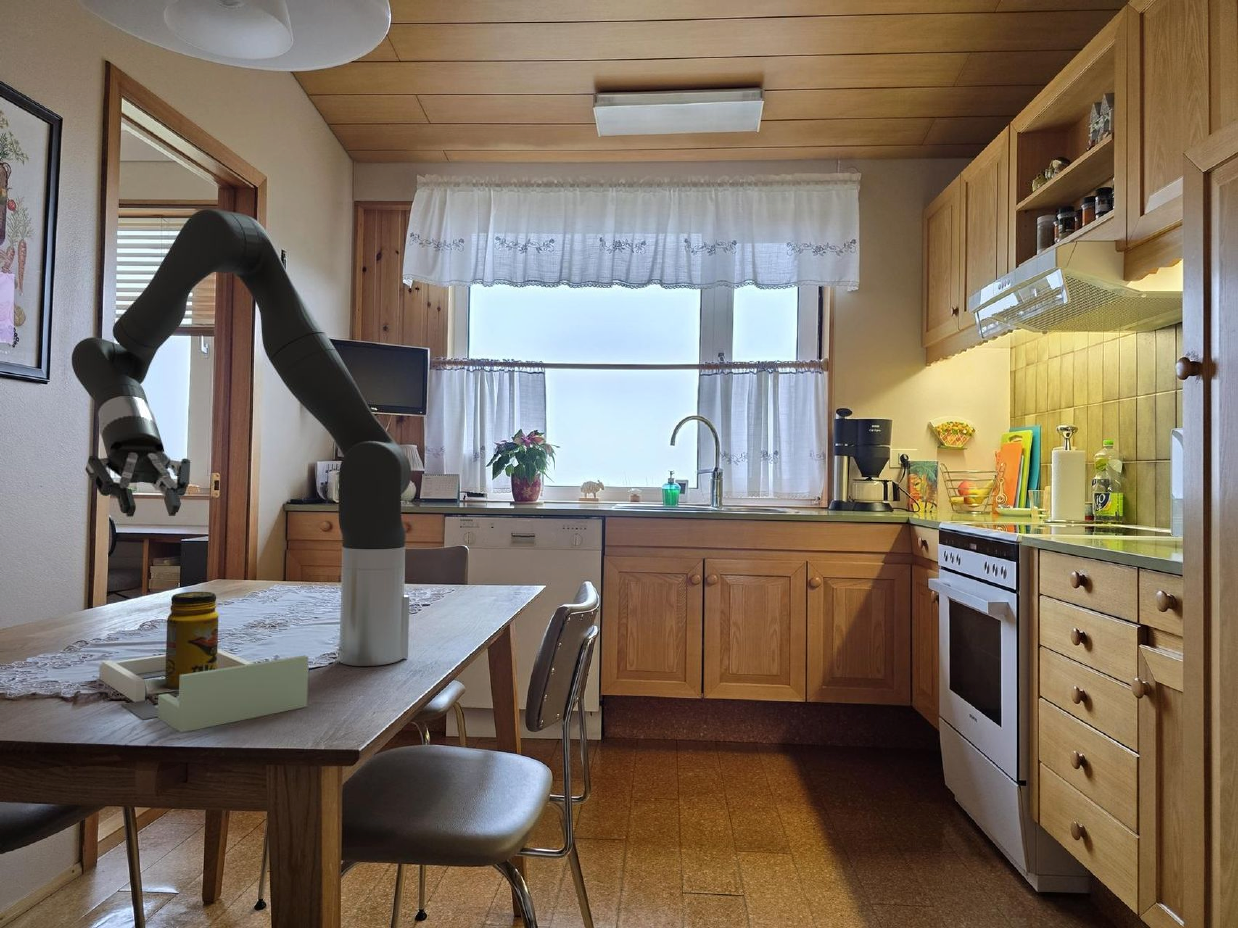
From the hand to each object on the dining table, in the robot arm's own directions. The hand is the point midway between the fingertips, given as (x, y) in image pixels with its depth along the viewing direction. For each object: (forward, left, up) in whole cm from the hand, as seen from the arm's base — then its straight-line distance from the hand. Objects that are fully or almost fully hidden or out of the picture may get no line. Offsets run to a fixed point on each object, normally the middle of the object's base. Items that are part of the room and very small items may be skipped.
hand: (153, 512), depth 113 cm
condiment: (0, +14, -22) cm, 27 cm away
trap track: (0, +19, -22) cm, 29 cm away
